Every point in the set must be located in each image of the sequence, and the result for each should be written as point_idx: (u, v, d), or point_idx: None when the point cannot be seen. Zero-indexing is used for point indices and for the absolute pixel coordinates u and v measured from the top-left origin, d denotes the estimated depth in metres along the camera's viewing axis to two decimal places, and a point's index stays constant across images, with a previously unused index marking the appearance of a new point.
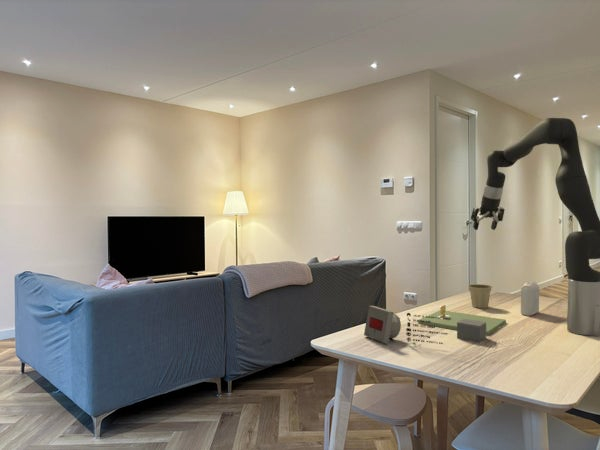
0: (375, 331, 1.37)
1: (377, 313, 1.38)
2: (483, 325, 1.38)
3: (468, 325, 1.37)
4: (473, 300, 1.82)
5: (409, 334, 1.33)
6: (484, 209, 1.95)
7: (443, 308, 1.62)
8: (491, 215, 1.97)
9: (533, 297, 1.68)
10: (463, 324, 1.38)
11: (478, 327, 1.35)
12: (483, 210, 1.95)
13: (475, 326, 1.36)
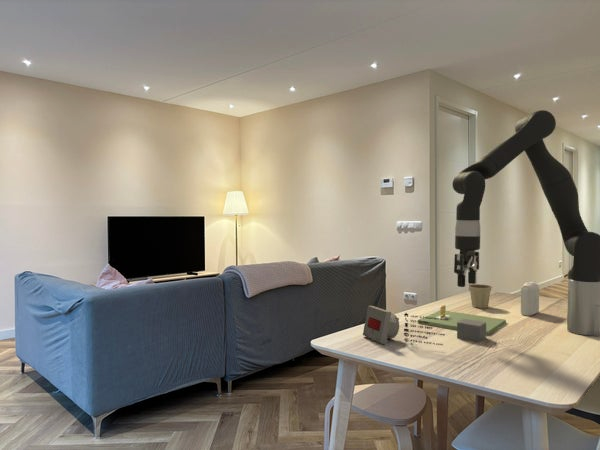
0: (373, 331, 1.37)
1: (375, 314, 1.38)
2: (483, 325, 1.38)
3: (468, 325, 1.37)
4: (473, 300, 1.82)
5: None
6: (467, 254, 1.38)
7: (443, 308, 1.62)
8: (472, 262, 1.41)
9: (533, 297, 1.68)
10: (463, 324, 1.38)
11: (478, 327, 1.35)
12: (466, 256, 1.38)
13: (475, 326, 1.36)
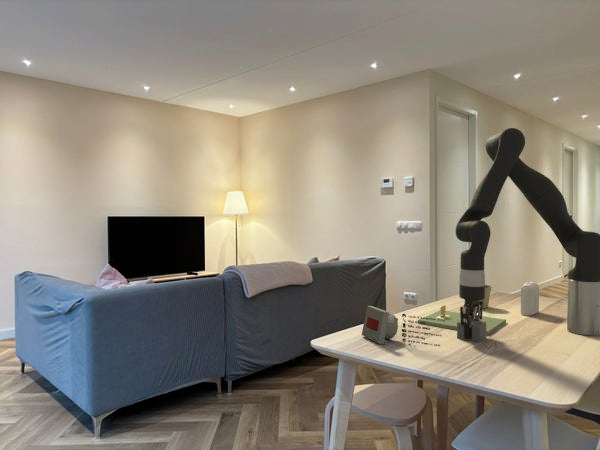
0: (371, 331, 1.37)
1: (373, 314, 1.38)
2: (483, 325, 1.38)
3: None
4: None
5: None
6: (472, 304, 1.36)
7: (443, 308, 1.62)
8: (476, 311, 1.39)
9: (533, 297, 1.68)
10: None
11: (478, 327, 1.35)
12: (471, 306, 1.36)
13: (475, 326, 1.36)
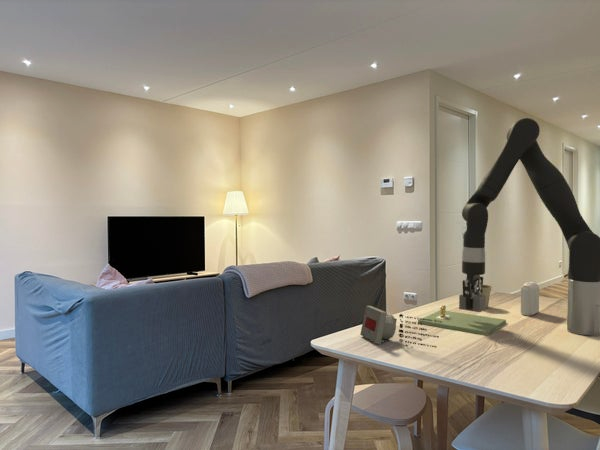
0: (369, 331, 1.37)
1: (371, 314, 1.38)
2: (483, 297, 1.53)
3: None
4: None
5: None
6: (473, 278, 1.52)
7: (443, 308, 1.62)
8: (477, 285, 1.55)
9: (533, 297, 1.68)
10: None
11: (478, 299, 1.51)
12: (473, 280, 1.52)
13: (475, 298, 1.51)
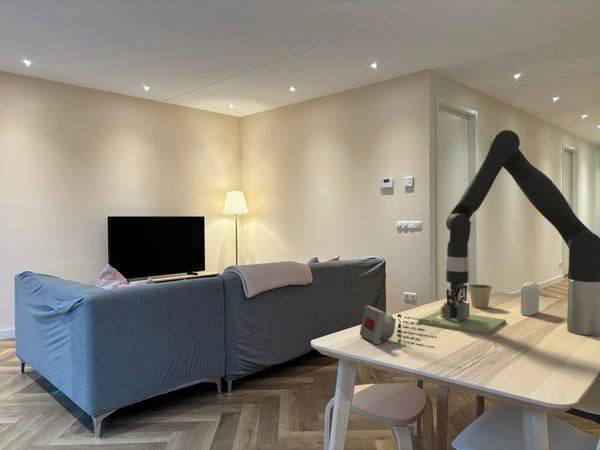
0: (368, 331, 1.37)
1: (370, 314, 1.38)
2: (466, 305, 1.57)
3: None
4: (473, 300, 1.82)
5: None
6: (457, 287, 1.55)
7: (443, 308, 1.62)
8: (461, 294, 1.58)
9: (533, 297, 1.68)
10: None
11: (462, 307, 1.54)
12: (456, 289, 1.55)
13: (459, 306, 1.55)
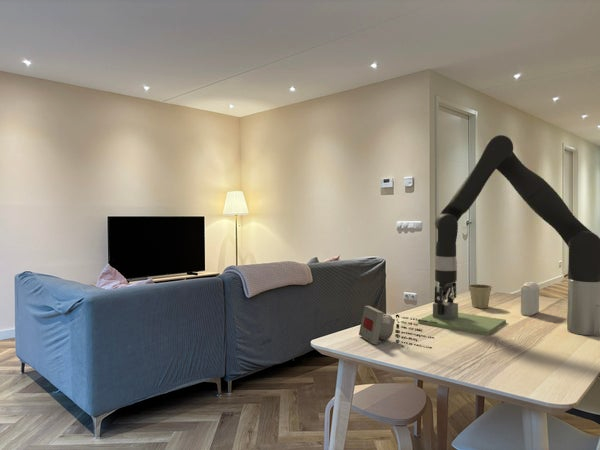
0: (367, 331, 1.37)
1: (369, 314, 1.38)
2: (455, 306, 1.59)
3: None
4: (473, 300, 1.82)
5: (398, 336, 1.31)
6: (445, 286, 1.58)
7: None
8: (449, 292, 1.61)
9: (533, 297, 1.68)
10: None
11: (450, 307, 1.57)
12: (445, 288, 1.58)
13: (448, 306, 1.58)
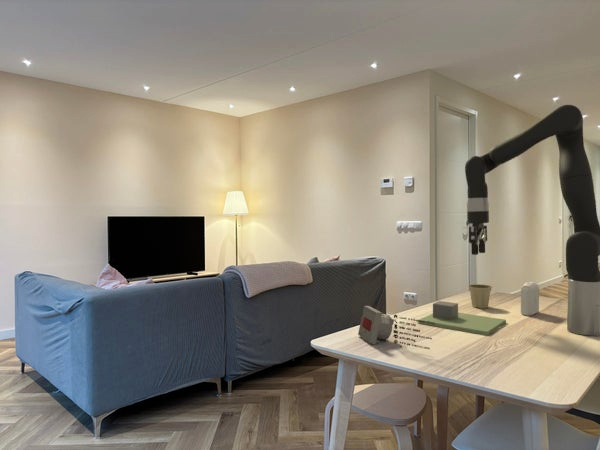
0: (365, 331, 1.37)
1: (368, 314, 1.38)
2: (455, 306, 1.59)
3: (442, 306, 1.59)
4: (473, 300, 1.82)
5: (396, 336, 1.31)
6: (478, 227, 1.62)
7: None
8: (482, 234, 1.65)
9: (533, 297, 1.68)
10: (438, 305, 1.60)
11: (450, 307, 1.57)
12: (478, 228, 1.62)
13: (448, 306, 1.58)
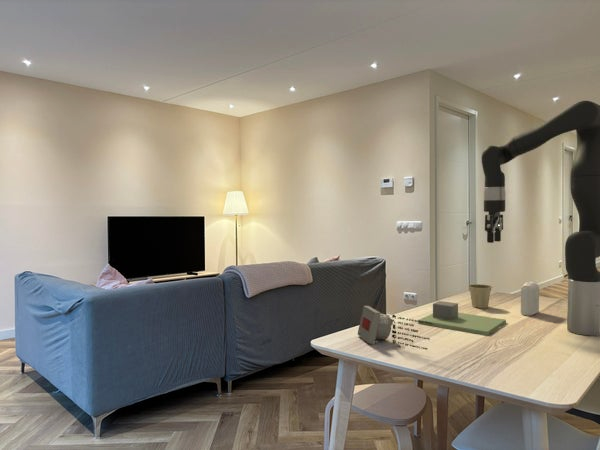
0: (364, 331, 1.37)
1: (367, 314, 1.38)
2: (455, 306, 1.59)
3: (442, 306, 1.59)
4: (473, 300, 1.82)
5: None
6: (494, 215, 1.65)
7: None
8: (498, 223, 1.68)
9: (533, 297, 1.68)
10: (438, 305, 1.60)
11: (450, 307, 1.57)
12: (494, 217, 1.64)
13: (448, 306, 1.58)
